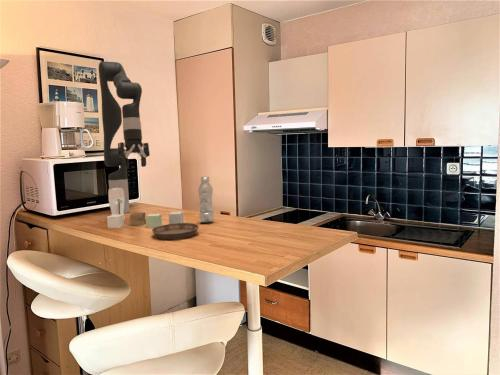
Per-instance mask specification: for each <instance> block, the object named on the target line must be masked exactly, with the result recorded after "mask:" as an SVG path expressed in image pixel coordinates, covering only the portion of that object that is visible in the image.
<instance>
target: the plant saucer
mask: <svg viewBox="0 0 500 375" xmlns="http://www.w3.org/2000/svg"><path fill="white" fill-rule="evenodd" d="M199 227H200V226H199V225H198V224H197V223H190V222H189V223H188V222H184V223H176V224H167V223H166V224H162V225H161V226H159V227H156V228H152V229H151V232H152V233H153V234H154V236H155V237H157V238H158V239H160V240H181V238H182V239H186V237H187V238H189V237H190V238H191V237H192V236H194V235H195V234H196V232H197V231H198V230H199Z"/></svg>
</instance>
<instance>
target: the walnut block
mask: <svg viewBox="0 0 500 375" xmlns="http://www.w3.org/2000/svg"><path fill="white" fill-rule="evenodd" d="M129 216H130V217H129V218H130V220H129V221H130V226H131V227H139V226H140V227H143V226H144V225H145V224H146V225H147V220H146V216H147V214H146V212H133V213H131V214H129Z"/></svg>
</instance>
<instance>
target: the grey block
mask: <svg viewBox="0 0 500 375" xmlns="http://www.w3.org/2000/svg"><path fill="white" fill-rule="evenodd" d="M168 223H169V224H176V223H185V221H184V211H171V212H170V213H168Z"/></svg>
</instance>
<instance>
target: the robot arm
mask: <svg viewBox="0 0 500 375" xmlns="http://www.w3.org/2000/svg"><path fill="white" fill-rule="evenodd" d="M98 76H99V86H100V96H101V117H102V128H103V130H102V131H103V161H104V164H105V167H109V168H110V167H119V169H117V170H116V171H114V172H112V173H109V174H108V189H111V188H123V190H124V198H125V201H124V214H126V213H130V212H131V211H130V199H129V198H130V197H129V195H130V194H129V182H128V168H129V167H130V160H129V158H128V157H130V155H131V154H137V155H139V157H140V164H141V166H140V167H142V168H144V167H146V166H147V158H148V157H150V156H151V155H150V148H149V147H150V146H149V143H148V142H144V143H143V132H142V123H141V122H142V121H141V116H140V104H141V98H142V93H143V88H142V86H141V84H140V83H138V82H134V81H133V82H132V81H131V79H130V78H129V77H128V76H127V74H126V71H125V68H124V66H123V65H122V63H120V62H117V61H100V62H99V63H98ZM108 82H113V86H114V87H115V88H116V90H115V93H116V96H117V97H118V98H119V99H122V100H132V102H131V103H126V104H124V105H122V107H121V106H120V104H119V103H118V101H117V100H116V98H115V97H114V95H113V94H112V92H111V90H110V88H109V85H108ZM121 125H122V133H123V140H124V142H123V141H121V142H118V143H117V147H116V148H115V147H113V148H111V147H112V142H113V140H114V137H115V136H116V134H117V132H118V131H119V130H120V128H121ZM110 212H111V211H110ZM111 214H112V212H111Z"/></svg>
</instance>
